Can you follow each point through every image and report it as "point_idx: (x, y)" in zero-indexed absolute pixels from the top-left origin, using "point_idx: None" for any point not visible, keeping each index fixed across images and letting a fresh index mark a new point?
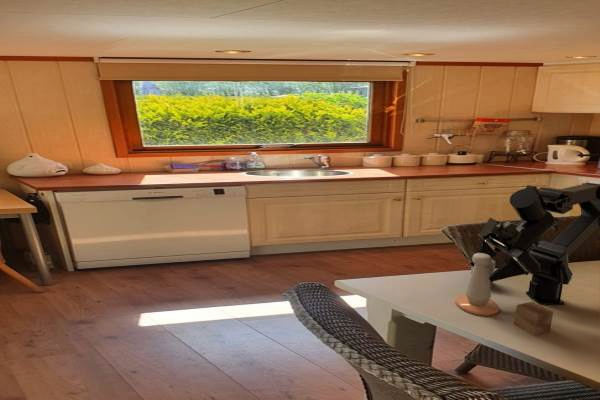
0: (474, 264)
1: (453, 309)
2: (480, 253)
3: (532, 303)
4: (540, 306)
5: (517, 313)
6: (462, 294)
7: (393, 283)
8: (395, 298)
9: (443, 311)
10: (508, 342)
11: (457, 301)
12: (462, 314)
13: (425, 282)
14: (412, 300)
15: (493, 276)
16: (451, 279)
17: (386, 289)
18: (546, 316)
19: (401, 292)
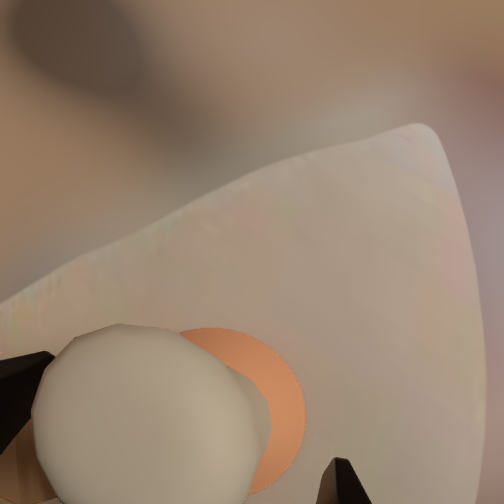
0: (323, 488)
1: (221, 301)
2: (163, 458)
3: (9, 487)
4: None
5: (30, 421)
6: (304, 414)
7: (450, 220)
8: (348, 169)
9: (222, 256)
10: (20, 310)
11: (251, 343)
12: (177, 307)
13: (456, 338)
14: (326, 206)
15: (18, 361)
16: (458, 465)
17: (409, 178)
18: None
19: (387, 206)
